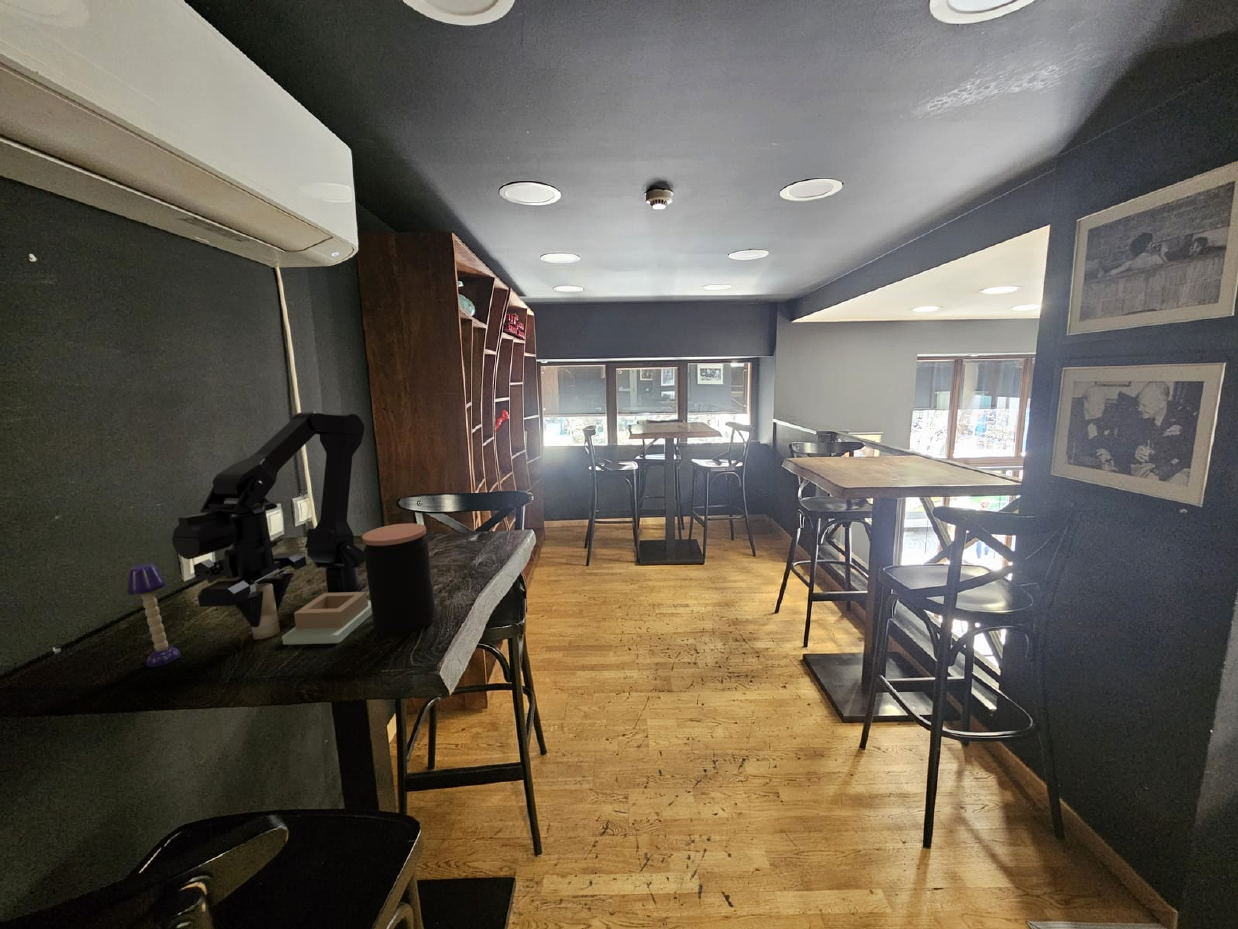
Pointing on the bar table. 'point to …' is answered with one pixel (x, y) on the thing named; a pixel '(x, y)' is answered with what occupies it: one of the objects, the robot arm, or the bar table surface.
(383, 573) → the coffee jar
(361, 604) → the socket board
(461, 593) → the bar table surface
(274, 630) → the birch peg
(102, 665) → the bar table surface
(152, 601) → the toy lamp
